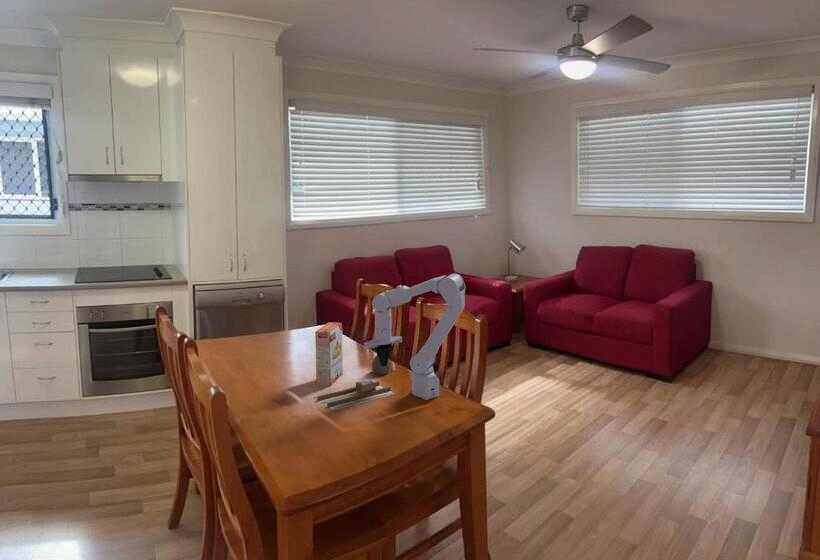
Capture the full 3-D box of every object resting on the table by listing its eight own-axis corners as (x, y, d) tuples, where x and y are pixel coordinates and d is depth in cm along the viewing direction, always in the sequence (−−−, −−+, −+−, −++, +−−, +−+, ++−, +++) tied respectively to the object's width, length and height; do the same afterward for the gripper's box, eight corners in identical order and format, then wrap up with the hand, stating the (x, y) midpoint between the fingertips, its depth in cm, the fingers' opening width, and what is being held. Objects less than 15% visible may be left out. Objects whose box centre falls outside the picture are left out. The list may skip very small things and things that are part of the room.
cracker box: (331, 389, 203) (330, 332, 200) (315, 388, 204) (313, 331, 201) (344, 375, 217) (342, 322, 213) (328, 374, 218) (327, 321, 214)
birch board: (395, 396, 196) (395, 390, 196) (333, 413, 182) (333, 407, 182) (373, 384, 208) (373, 378, 207) (313, 399, 194) (313, 393, 193)
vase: (382, 379, 213) (381, 356, 211) (368, 375, 217) (367, 353, 216) (393, 374, 218) (393, 352, 217) (379, 370, 223) (379, 348, 221)
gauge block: (375, 393, 197) (375, 382, 196) (363, 396, 194) (363, 385, 193) (368, 388, 201) (368, 378, 200) (355, 391, 198) (355, 381, 197)
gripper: (394, 322, 205) (394, 358, 208) (359, 328, 197) (359, 366, 199) (405, 326, 200) (405, 363, 202) (370, 332, 191) (370, 371, 194)
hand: (383, 365), depth 200 cm, fingers closed
